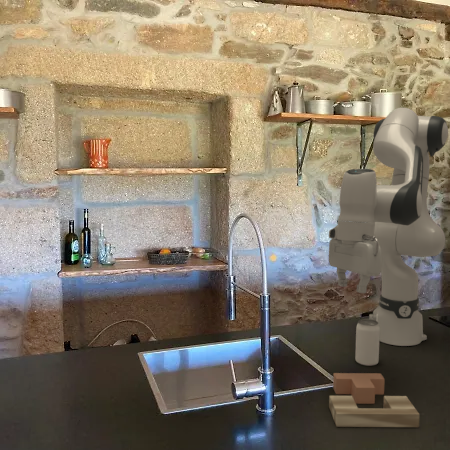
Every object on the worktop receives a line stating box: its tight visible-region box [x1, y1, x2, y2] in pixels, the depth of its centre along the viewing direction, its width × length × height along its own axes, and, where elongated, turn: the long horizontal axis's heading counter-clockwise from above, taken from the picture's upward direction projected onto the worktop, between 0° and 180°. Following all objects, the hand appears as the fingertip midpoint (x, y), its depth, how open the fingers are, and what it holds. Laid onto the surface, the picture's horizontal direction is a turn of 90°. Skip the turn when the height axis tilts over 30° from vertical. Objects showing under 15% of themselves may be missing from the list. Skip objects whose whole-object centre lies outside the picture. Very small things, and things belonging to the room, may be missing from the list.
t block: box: [332, 372, 385, 405], centre depth 123 cm, size 8×12×4 cm
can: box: [354, 318, 380, 367], centre depth 144 cm, size 6×6×12 cm
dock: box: [328, 395, 421, 428], centre depth 113 cm, size 8×18×3 cm, turn 89°
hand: (351, 289), depth 123 cm, fingers open, 8 cm apart
